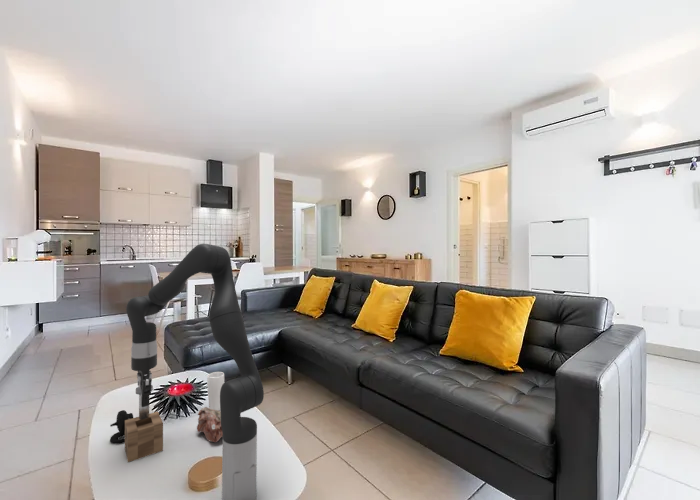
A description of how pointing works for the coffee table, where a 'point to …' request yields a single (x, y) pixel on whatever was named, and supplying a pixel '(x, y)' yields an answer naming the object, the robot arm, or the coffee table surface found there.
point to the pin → (142, 410)
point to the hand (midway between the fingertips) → (144, 402)
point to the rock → (210, 424)
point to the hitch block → (143, 436)
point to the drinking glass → (214, 389)
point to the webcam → (120, 427)
